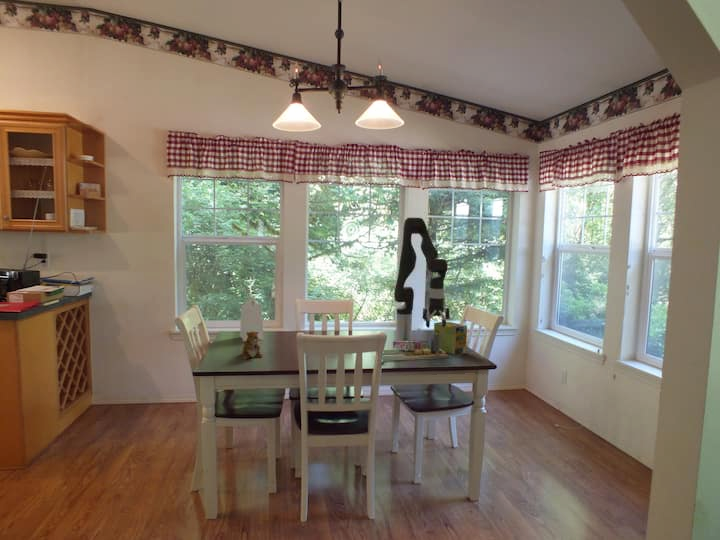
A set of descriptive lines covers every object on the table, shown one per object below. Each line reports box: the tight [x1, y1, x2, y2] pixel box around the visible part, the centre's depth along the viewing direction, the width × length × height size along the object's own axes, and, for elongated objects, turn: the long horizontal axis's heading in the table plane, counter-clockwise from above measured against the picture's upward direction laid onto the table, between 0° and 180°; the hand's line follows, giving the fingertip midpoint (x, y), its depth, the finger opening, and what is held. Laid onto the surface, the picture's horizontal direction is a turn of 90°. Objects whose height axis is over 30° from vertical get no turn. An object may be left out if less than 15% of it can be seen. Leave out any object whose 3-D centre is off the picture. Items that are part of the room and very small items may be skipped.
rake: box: [430, 332, 439, 355], centre depth 236 cm, size 6×3×11 cm, turn 13°
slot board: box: [397, 349, 449, 361], centre depth 235 cm, size 13×24×3 cm, turn 103°
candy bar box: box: [392, 339, 429, 351], centre depth 244 cm, size 11×5×16 cm
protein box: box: [433, 320, 468, 355], centre depth 247 cm, size 10×15×16 cm
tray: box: [382, 348, 405, 364], centre depth 231 cm, size 12×12×4 cm
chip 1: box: [412, 349, 422, 355], centre depth 234 cm, size 4×4×3 cm
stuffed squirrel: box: [241, 332, 263, 360], centre depth 231 cm, size 10×14×13 cm
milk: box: [239, 294, 264, 342], centre depth 266 cm, size 12×12×26 cm
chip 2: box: [421, 348, 431, 355], centre depth 235 cm, size 4×4×3 cm
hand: (435, 327), depth 235 cm, fingers open, 8 cm apart
